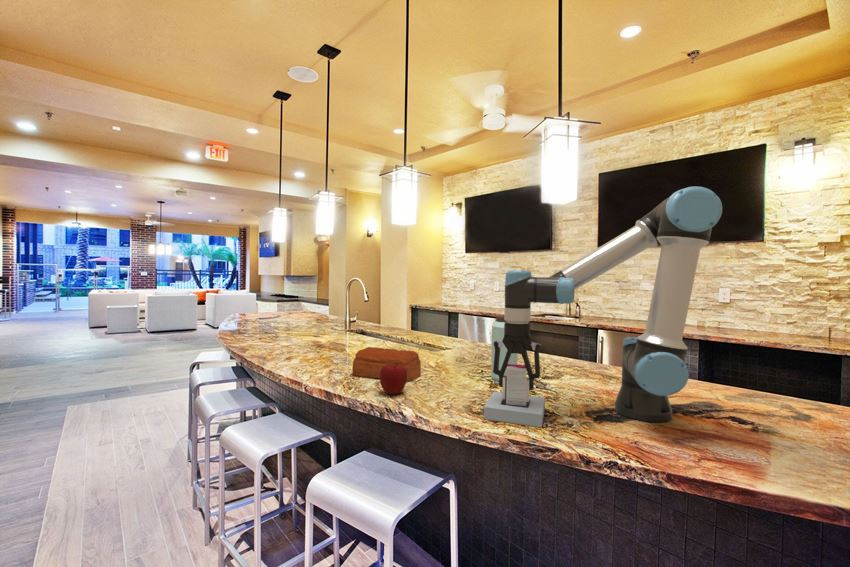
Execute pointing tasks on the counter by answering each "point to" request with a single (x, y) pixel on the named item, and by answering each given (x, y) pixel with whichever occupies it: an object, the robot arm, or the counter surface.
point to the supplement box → (516, 385)
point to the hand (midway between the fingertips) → (516, 399)
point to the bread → (385, 362)
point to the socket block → (515, 411)
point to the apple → (393, 378)
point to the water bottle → (499, 335)
